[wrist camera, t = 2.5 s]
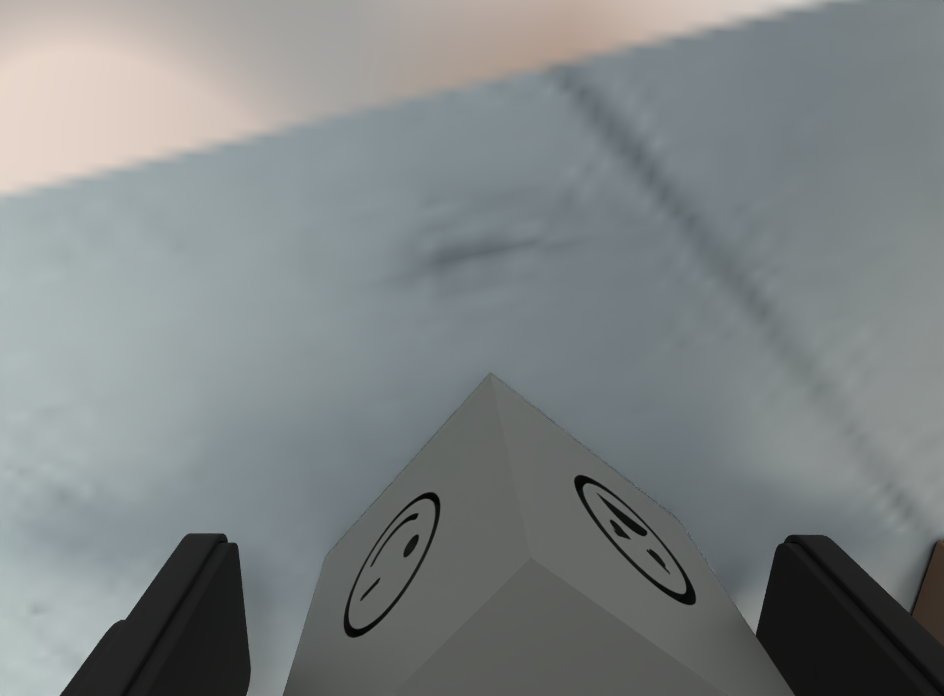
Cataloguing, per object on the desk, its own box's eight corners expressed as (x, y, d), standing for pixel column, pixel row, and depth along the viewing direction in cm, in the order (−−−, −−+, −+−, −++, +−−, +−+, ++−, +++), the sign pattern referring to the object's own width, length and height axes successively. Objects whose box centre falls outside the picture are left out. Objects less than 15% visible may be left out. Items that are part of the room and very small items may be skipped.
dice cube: (490, 372, 10) (530, 557, 5) (679, 521, 11) (852, 782, 6) (325, 557, 11) (235, 848, 6) (514, 675, 12) (558, 999, 8)
